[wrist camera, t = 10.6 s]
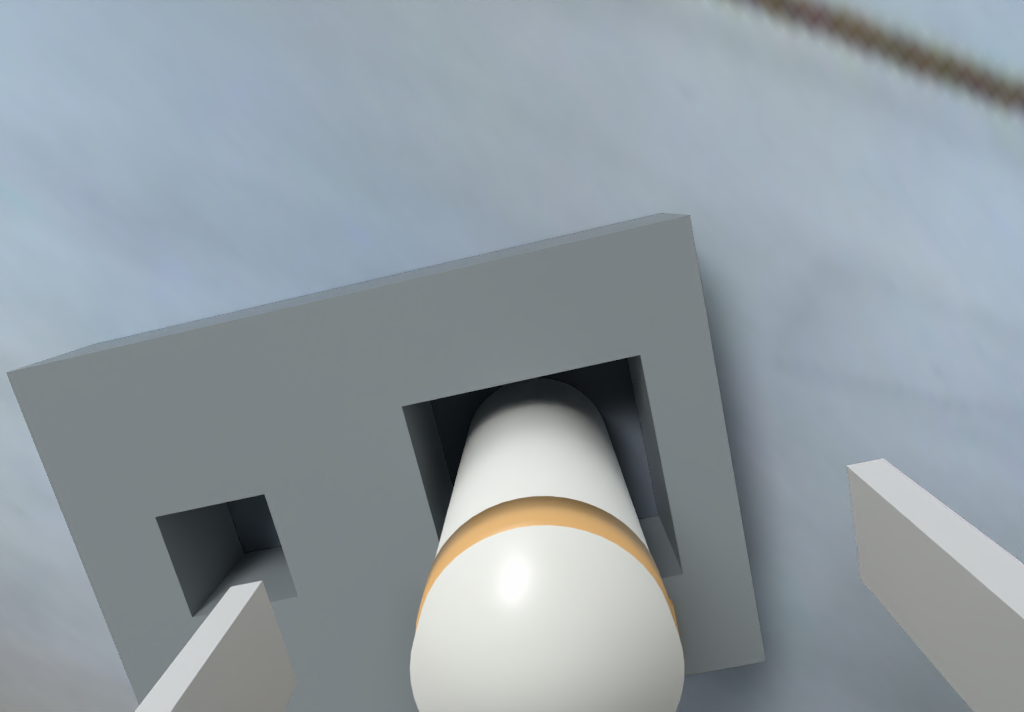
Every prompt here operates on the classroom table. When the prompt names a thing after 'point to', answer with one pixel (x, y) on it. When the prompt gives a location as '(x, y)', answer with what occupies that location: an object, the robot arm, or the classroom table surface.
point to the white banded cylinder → (543, 572)
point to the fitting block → (378, 451)
